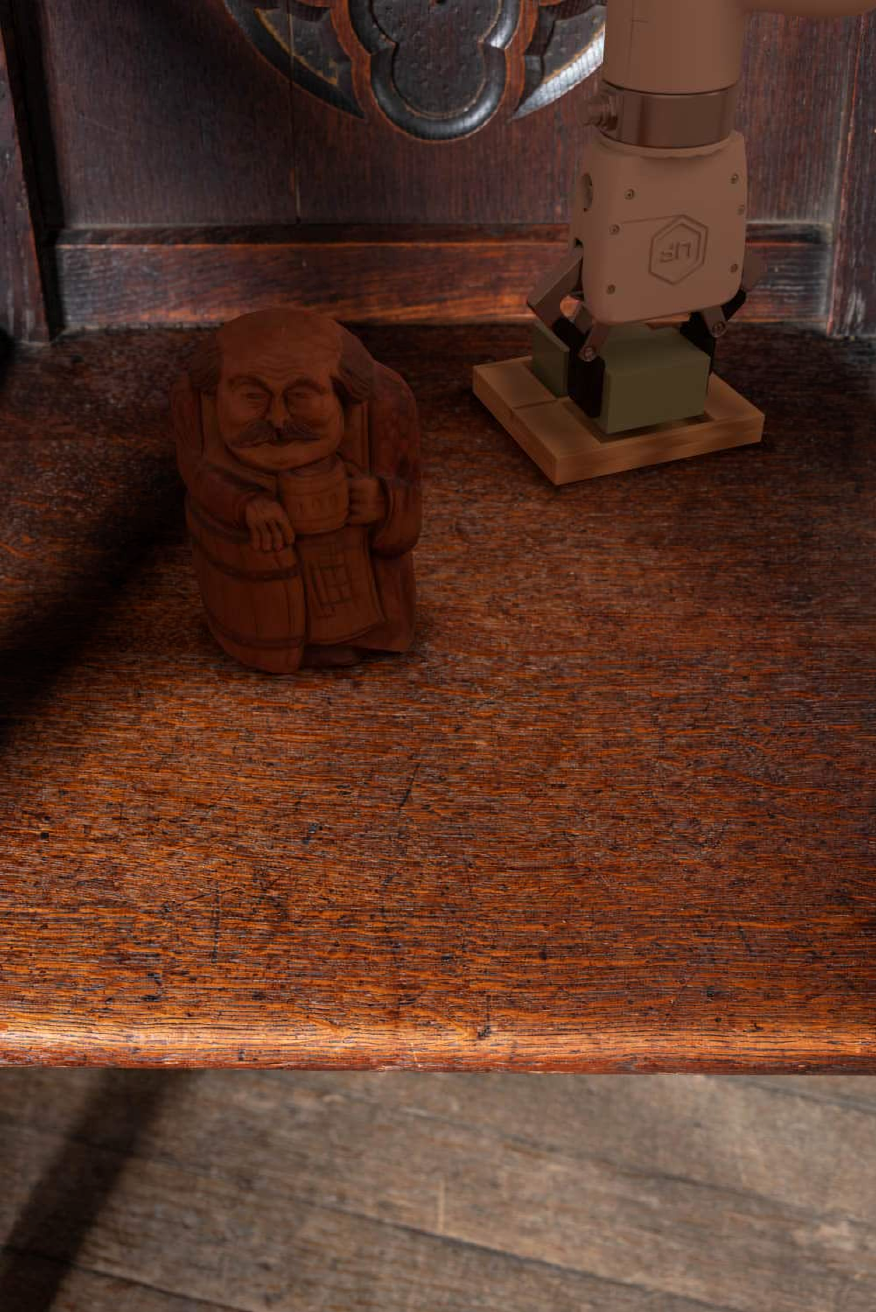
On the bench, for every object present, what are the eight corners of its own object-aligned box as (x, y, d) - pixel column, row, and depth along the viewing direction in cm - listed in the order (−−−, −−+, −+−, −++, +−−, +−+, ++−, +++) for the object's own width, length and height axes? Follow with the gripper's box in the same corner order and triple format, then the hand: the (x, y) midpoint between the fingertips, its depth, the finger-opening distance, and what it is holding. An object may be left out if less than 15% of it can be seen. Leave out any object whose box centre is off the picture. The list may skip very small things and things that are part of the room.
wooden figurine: (202, 684, 64) (147, 358, 53) (203, 610, 69) (153, 298, 58) (430, 662, 66) (424, 339, 54) (415, 591, 71) (407, 281, 59)
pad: (665, 382, 85) (671, 326, 83) (703, 414, 82) (711, 357, 79) (572, 400, 83) (575, 344, 81) (606, 434, 80) (611, 376, 77)
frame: (659, 356, 93) (666, 291, 90) (760, 441, 83) (772, 372, 80) (472, 391, 89) (472, 325, 86) (555, 486, 79) (559, 414, 76)
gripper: (554, 150, 66) (540, 450, 77) (836, 112, 70) (784, 399, 82) (498, 112, 71) (493, 397, 82) (763, 78, 76) (724, 352, 87)
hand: (638, 396), depth 82 cm, fingers closed on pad, 7 cm apart
